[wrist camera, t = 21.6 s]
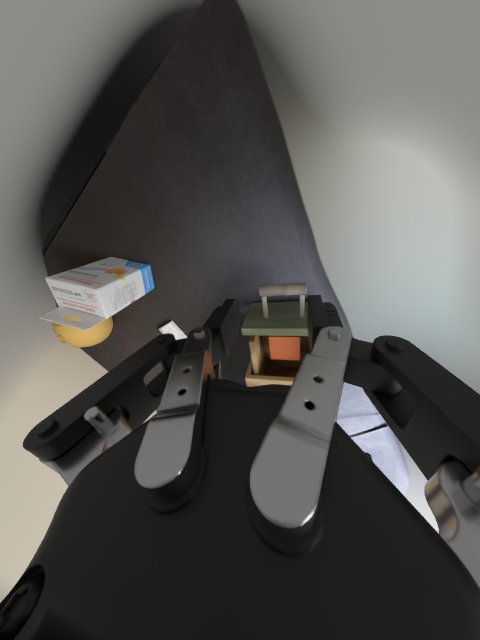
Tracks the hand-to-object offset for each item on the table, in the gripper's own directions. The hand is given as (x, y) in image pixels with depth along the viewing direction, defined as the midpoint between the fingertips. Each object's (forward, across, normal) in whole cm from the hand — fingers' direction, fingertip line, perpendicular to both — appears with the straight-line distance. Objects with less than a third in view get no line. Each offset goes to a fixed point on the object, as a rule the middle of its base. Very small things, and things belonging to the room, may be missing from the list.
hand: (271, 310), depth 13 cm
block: (+14, 0, +11) cm, 18 cm away
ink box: (+19, +28, +1) cm, 34 cm away
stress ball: (+19, +41, +10) cm, 46 cm away
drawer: (+17, 0, +13) cm, 22 cm away
